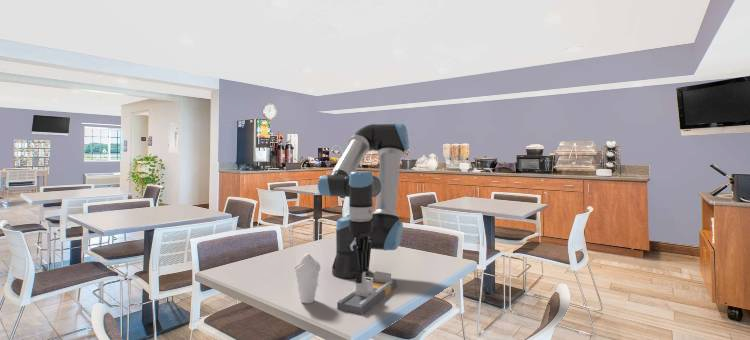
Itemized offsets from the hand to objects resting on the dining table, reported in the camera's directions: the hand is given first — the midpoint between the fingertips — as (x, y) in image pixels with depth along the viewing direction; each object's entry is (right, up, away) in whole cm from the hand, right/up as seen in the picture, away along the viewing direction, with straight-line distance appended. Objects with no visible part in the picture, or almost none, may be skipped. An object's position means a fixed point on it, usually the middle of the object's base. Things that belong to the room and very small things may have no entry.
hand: (360, 291), depth 117 cm
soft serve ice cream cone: (-17, -4, +2) cm, 18 cm away
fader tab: (+1, -2, +2) cm, 3 cm away
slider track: (+3, -4, +6) cm, 7 cm away
